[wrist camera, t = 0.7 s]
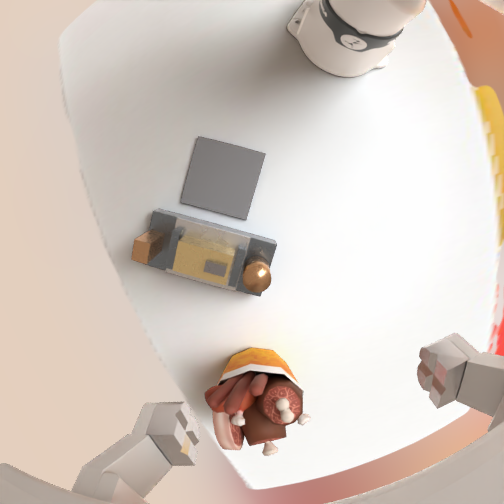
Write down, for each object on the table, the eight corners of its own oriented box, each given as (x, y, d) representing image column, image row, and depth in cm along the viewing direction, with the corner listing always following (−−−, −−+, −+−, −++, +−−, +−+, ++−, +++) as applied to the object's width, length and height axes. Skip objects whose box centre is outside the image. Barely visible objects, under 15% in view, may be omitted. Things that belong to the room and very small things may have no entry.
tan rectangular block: (178, 262, 44) (170, 272, 39) (184, 235, 42) (177, 242, 38) (227, 275, 44) (225, 287, 40) (235, 248, 43) (233, 257, 38)
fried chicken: (308, 386, 55) (325, 458, 36) (237, 407, 56) (234, 479, 37) (276, 312, 50) (290, 387, 31) (195, 340, 51) (172, 415, 32)
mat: (199, 136, 42) (198, 136, 41) (265, 154, 43) (265, 153, 42) (181, 201, 45) (180, 202, 44) (246, 219, 45) (246, 220, 45)
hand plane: (149, 258, 47) (126, 278, 37) (159, 208, 45) (136, 217, 35) (259, 289, 49) (261, 316, 39) (275, 240, 46) (281, 257, 37)
